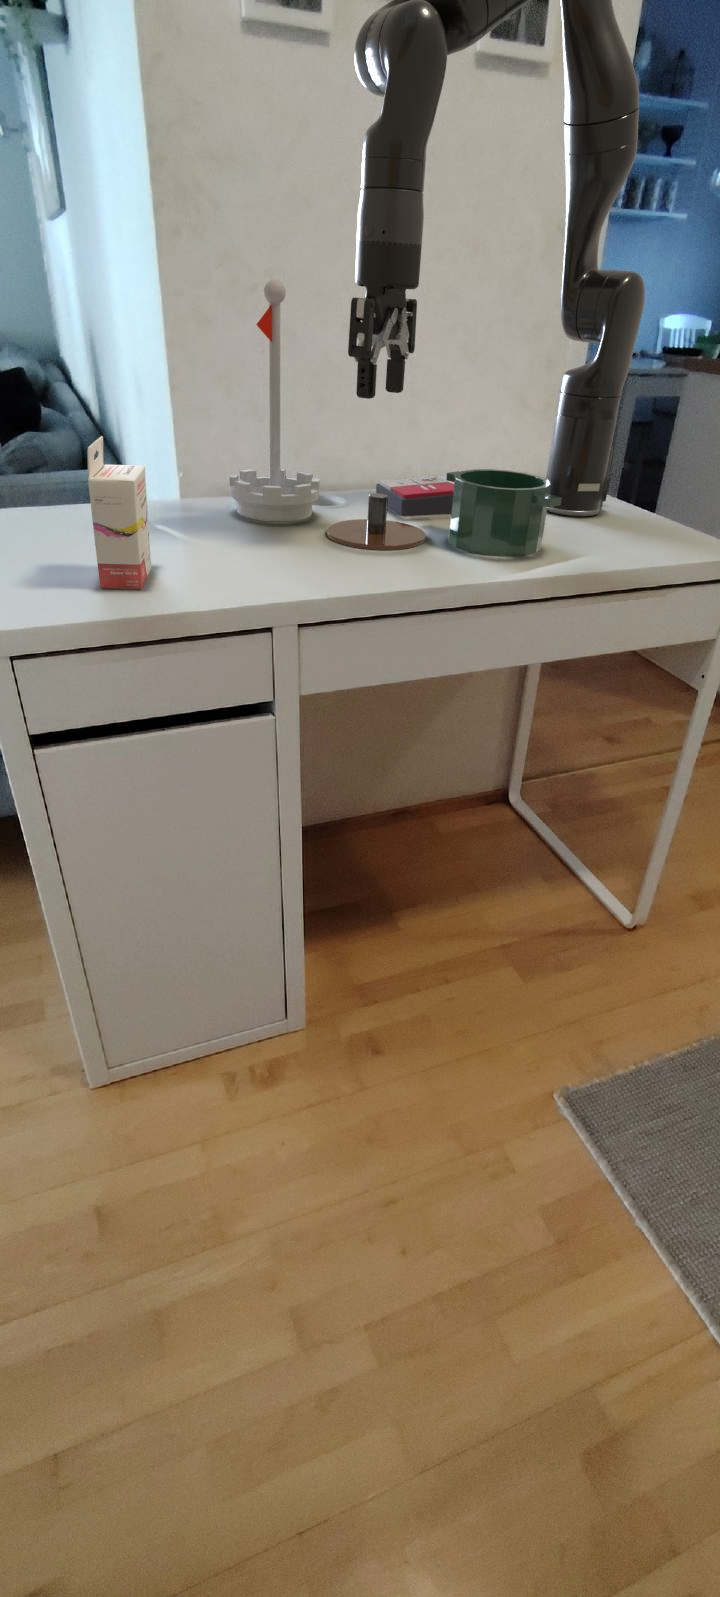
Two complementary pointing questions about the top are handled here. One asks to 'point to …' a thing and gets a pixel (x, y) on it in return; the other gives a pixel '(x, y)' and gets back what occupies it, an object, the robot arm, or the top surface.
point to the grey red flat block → (418, 495)
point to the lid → (376, 529)
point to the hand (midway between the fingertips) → (380, 395)
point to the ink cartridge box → (119, 521)
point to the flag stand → (274, 443)
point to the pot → (498, 511)
